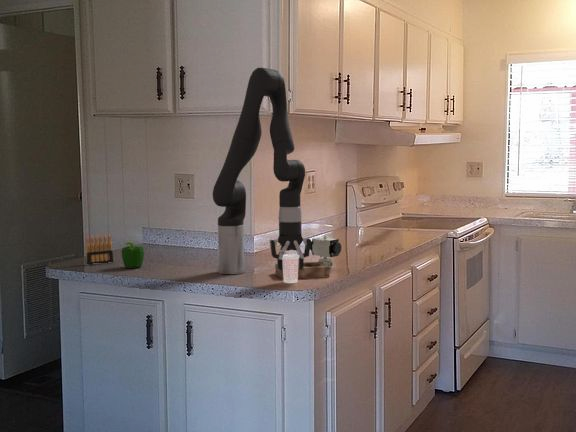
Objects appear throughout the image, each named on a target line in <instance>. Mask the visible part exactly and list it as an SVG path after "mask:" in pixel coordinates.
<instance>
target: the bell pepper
mask: <svg viewBox="0 0 576 432" xmlns="http://www.w3.org/2000/svg"><path fill="white" fill-rule="evenodd" d="M125 245H127V246H126V247H122V249H121V258H122V261H123V266H124V267H125V268H126V269H137V268H136V267H138V268H141V267H142V265H143V262H144V258H145V249H144V247H143V246H138V245H134V243H133V242H131V241H126V242H125ZM128 245H130V246H128ZM134 267H135V268H134Z"/></svg>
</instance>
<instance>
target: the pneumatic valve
mask: <svg viewBox="0 0 576 432" xmlns="http://www.w3.org/2000/svg"><path fill="white" fill-rule="evenodd" d="M339 240H340V239H337V238H329V237H327V235H324V236H323V237H321V236H320V237H315V238H312V239H311V245H310V252H311V254H312V256H317V257H318V256H319V257H320V258H319V259H318V261H317V262H323V263H324V264H326V265H327V266H329V269H332V268H333V265H334V263H333V259H332V258H334V257H338V256H339V255H340V254H341V252H342V244H341V243H340V241H339Z"/></svg>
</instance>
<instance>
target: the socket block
mask: <svg viewBox="0 0 576 432" xmlns="http://www.w3.org/2000/svg"><path fill="white" fill-rule="evenodd" d="M274 264H275V266H274V267H275V270H274V271H275V272H274V273H275V275H276V276H277V277H278V278H280V279H281V280H284V277H283V270H282V271H280V270H279V269H278V267H277V263H274ZM311 277H315V278H330V268H329V266H327V265H326V264H324V263H323V262H318V261H311V262H310V261H309V262H305V261H304V267H303V268H302V270H299V269H298V279H310V278H311Z"/></svg>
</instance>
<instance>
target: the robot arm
mask: <svg viewBox="0 0 576 432" xmlns="http://www.w3.org/2000/svg"><path fill="white" fill-rule="evenodd" d="M251 72H252V73H251V74H250V77H249V80H248V82H247V83H248V84H247V86H246V87H247V88H246V91H245V97H244V101H243V105H242V107H241V110H240V111H241V112H240V115H239V119H238V121H237V124H236V128H235V130H234V133H233V136H232V139H231V142H230V146H229V149H228V152H227V154H226V158H225V160H224V162H223V165H222V168H221V170H220V173H219V175H218V176H217V179H216V181H215V184H214V186H213V189H212V199H213V202H214V203H215V205H216V206H217V207H221V208H225V209H224V211H223V213H222V214H221V215H220V216H218V218H217V243H218V244H217V271H218V273H219V274H220V275H223V274H224V275H239V274H243V273H245V245H244V244H245V240H244V236H245V235H244V233H245V231H244V230H245V229H244V222H245V221H244V220H245V217H246V214H247V213H246V207H247V192H246V188H245V186H244V183H242V181H240V180H238V177H239V176H240V174H241V172H242V170H243V169H244V168H245V167H246V166H247V165H248V164H249V162H250V161H251V159H252V158H253V157H254V156H255V154H256V152H257V150H258V147H259V144H260V141H261V138H262V133H263V132H262V125H261V124H262V123H261V118H260V111H261V106H262V102H263V100H264V97H268V98H269V100H270V103H271V105H272V106H271V107H272V115H271V120H270V124H269V135H270V140H271V145H272V148H273V165H272V166H273V167H272V168H273V169H272V170H273V174H274V176H275V178H276V179H277V180H278V181H279V182H288V184H287V187H285V188H283V189H280V190H279V193H278V194H279V195H278V197H279V200H278V201H279V203H278V204H279V208H278V209H279V210H278V238H276V239H269V246H270V254H271V256H272V258H274V259H276V261H277V263H276V264H277V267H278V269H279V270H280V271H282V270H283V260H282V257H283V255H284V254H285V253H286V251H288V252H290V250H291V251H295V252H296V254H297V255H299V263H298V269H299V270H302V268H303V267H304V263H305V261H304V259H305V258H306V257H309V256H310V252H311V250H310V245H311V241H312V239H310V238H309V237H306V238H304V237H303V234H302V231H303V230H302V209H301V206H302V205H301V193H302V190H303V185H304V181H305V178H306V177H305V176H306V168H305V164H304V163H303V161H301V160H299V159H288V158H287V157H288V155H290V154H292V153H294V151H295V143H294V138H293V135H292V132H291V128H290V123H289V115H288V103H287V91H286V90H287V88H286V83H285V77H284V75H283V73H282V72H280V71H279V70H277V69H271V68H266V67H257V68H255V69H254V70H253V71H251ZM302 243H303V244H304V249H303V250H304V251H302V249H301V247H300V246H301V244H302ZM278 244H279V245H280V248H279V250H278V253H277V249H276V247H277V245H278Z"/></svg>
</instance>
